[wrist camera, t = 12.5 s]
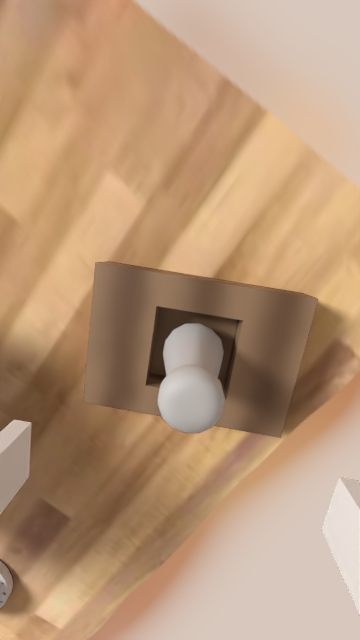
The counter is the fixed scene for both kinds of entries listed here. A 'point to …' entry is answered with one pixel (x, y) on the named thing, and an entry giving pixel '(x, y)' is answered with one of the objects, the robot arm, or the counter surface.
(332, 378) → the counter surface
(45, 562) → the counter surface
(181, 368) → the salt shaker
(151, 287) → the stand
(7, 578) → the mechanical component
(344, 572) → the robot arm
